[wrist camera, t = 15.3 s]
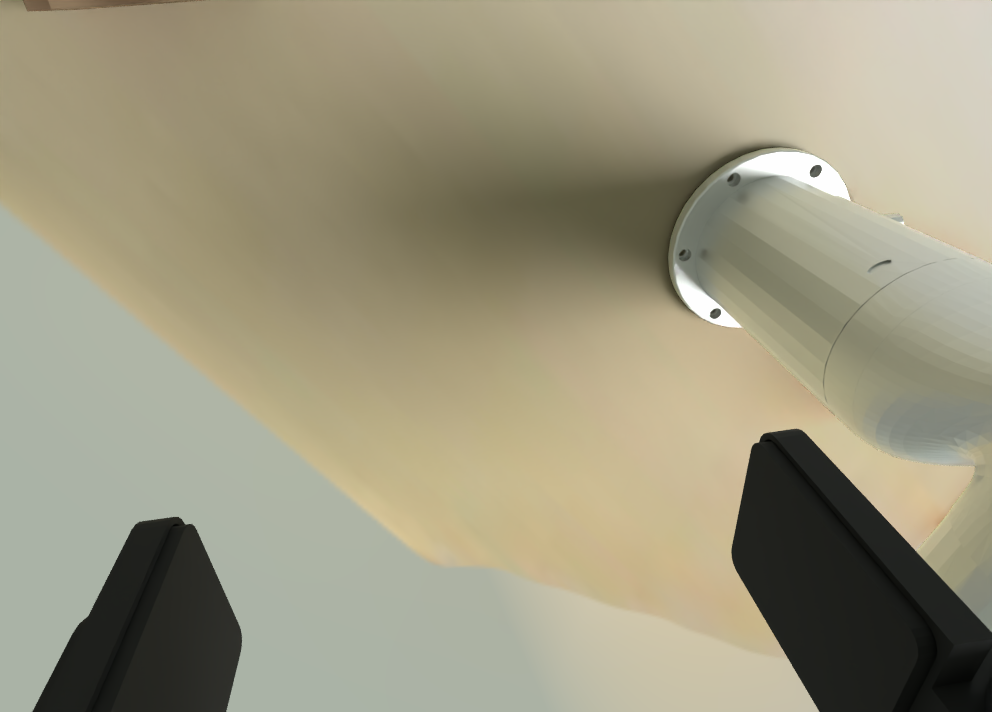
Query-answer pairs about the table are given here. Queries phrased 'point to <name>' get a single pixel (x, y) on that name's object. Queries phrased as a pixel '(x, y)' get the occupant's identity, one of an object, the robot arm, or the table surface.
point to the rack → (88, 4)
